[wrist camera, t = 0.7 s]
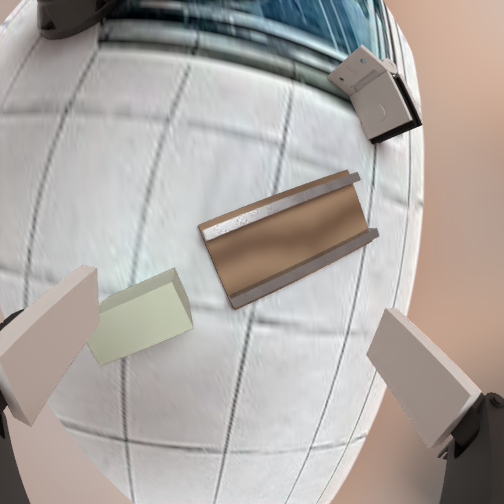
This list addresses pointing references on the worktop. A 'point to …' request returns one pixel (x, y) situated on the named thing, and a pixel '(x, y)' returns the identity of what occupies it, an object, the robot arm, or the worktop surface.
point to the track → (286, 237)
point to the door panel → (141, 317)
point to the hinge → (377, 95)
